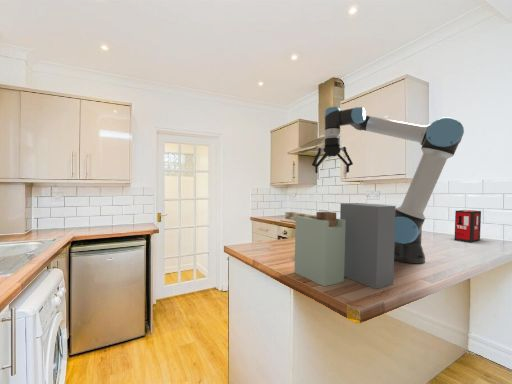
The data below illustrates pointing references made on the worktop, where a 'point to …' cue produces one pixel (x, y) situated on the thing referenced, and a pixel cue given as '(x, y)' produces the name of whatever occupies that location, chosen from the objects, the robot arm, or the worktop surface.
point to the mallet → (314, 217)
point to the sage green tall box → (320, 250)
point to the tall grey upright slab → (369, 243)
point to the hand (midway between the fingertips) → (331, 179)
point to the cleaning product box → (467, 225)
